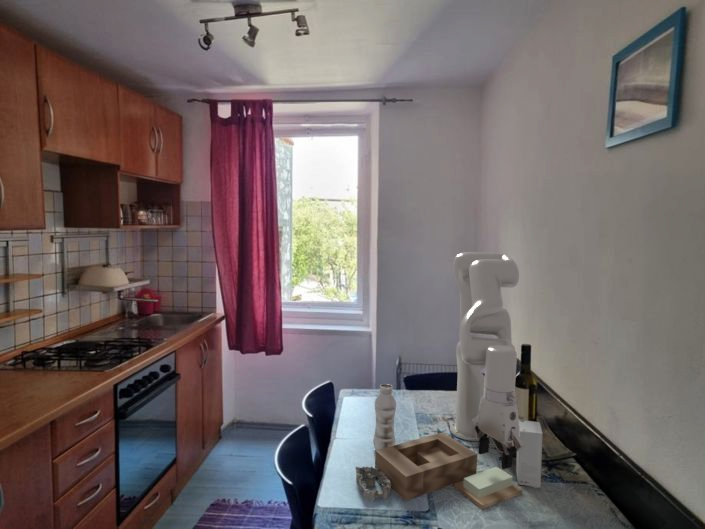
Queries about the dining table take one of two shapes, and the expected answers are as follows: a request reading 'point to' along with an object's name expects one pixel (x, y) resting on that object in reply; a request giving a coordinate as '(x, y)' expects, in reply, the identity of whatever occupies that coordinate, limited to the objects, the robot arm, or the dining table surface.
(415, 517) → the dining table surface
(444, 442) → the pocket board
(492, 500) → the plate
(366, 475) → the egg carton
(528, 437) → the skincare box
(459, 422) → the robot arm
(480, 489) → the slab
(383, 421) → the plastic bottle
